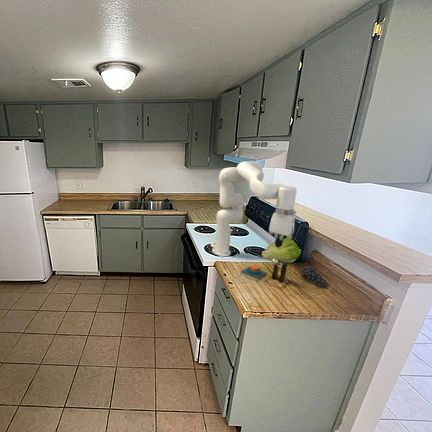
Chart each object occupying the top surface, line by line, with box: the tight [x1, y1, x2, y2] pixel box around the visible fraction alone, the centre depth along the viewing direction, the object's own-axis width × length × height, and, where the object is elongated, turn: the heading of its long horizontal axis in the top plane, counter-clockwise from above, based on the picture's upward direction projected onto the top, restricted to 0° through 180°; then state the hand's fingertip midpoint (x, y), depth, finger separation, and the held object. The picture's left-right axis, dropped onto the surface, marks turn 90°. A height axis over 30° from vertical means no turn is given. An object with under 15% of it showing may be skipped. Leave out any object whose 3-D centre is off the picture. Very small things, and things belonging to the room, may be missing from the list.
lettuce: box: [261, 238, 302, 263], centre depth 160 cm, size 15×25×16 cm
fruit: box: [299, 265, 329, 289], centre depth 132 cm, size 9×8×15 cm
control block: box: [240, 265, 267, 280], centre depth 141 cm, size 10×10×4 cm
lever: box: [270, 259, 284, 269], centre depth 128 cm, size 13×3×3 cm
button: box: [250, 264, 259, 271], centre depth 140 cm, size 4×4×2 cm
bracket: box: [271, 260, 289, 284], centre depth 133 cm, size 12×9×12 cm
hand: (278, 246), depth 122 cm, fingers closed
